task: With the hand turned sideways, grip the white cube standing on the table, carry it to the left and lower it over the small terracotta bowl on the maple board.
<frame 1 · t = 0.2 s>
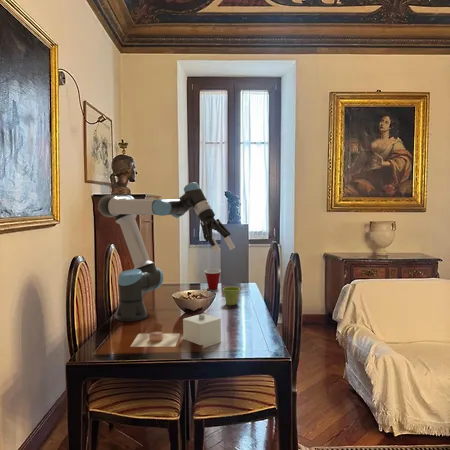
hand: (225, 250, 206), 35 cm above the table, tool tilted 35°, fingers open, 13 cm apart
maple board: (156, 343, 183), on the table
bread roll: (193, 309, 235), on the table
plastic cup: (212, 289, 284), on the table
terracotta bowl: (156, 339, 183), resting on maple board
plant pot: (231, 304, 245), on the table
white cube: (202, 342, 183), on the table
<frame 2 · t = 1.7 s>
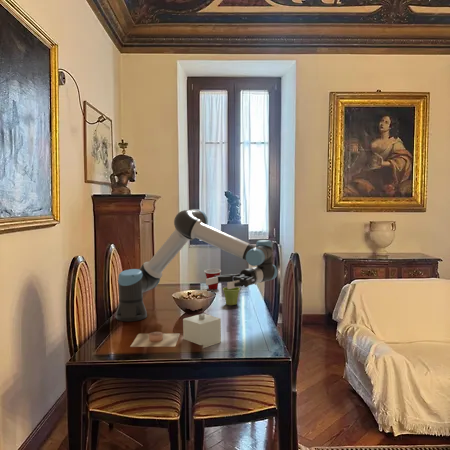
hand: (216, 284, 188), 23 cm above the table, tool horizontal, fingers open, 13 cm apart
nothing on the table moved.
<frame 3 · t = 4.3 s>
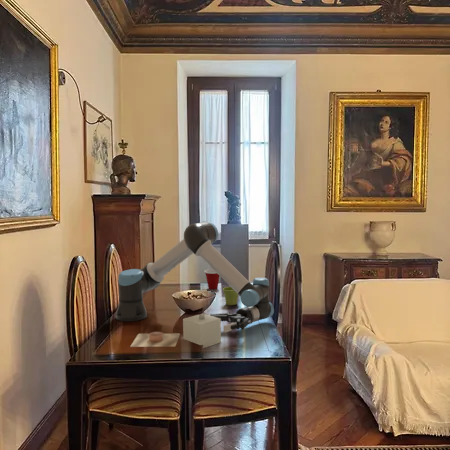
hand: (213, 325, 187), 6 cm above the table, tool horizontal, fingers open, 13 cm apart
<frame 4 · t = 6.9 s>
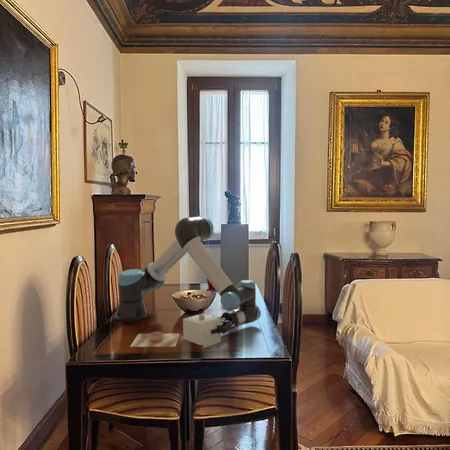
hand: (194, 330, 180), 6 cm above the table, tool horizontal, fingers closed on white cube, 11 cm apart
white cube: (202, 342, 183), on the table, touching gripper
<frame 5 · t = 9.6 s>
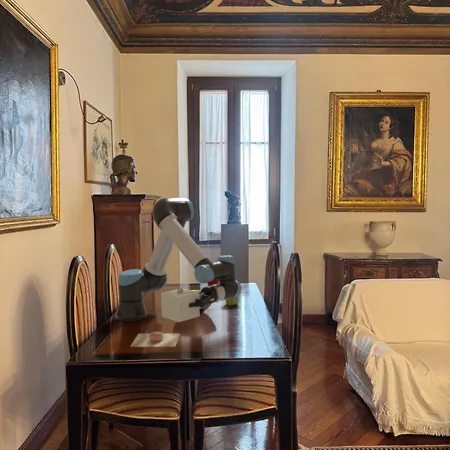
hand: (172, 304, 178), 17 cm above the table, tool horizontal, fingers closed on white cube, 11 cm apart
white cube: (180, 316, 181), point 11 cm above the table, touching gripper
when the fingers open (8 cm above the table, at t = 12.8 s): white cube stays where it is, resting on maple board.
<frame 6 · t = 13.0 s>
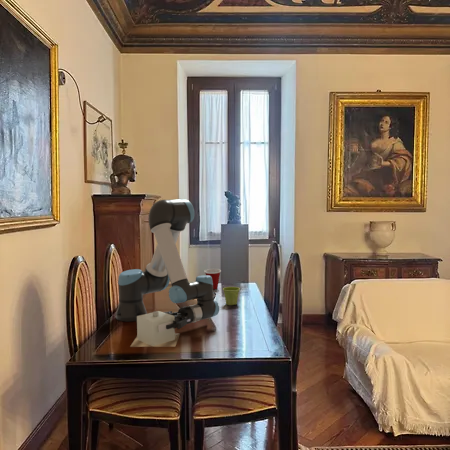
hand: (148, 325, 180), 8 cm above the table, tool horizontal, fingers open, 13 cm apart
white cube: (156, 339, 183), point 1 cm above the table, touching maple board
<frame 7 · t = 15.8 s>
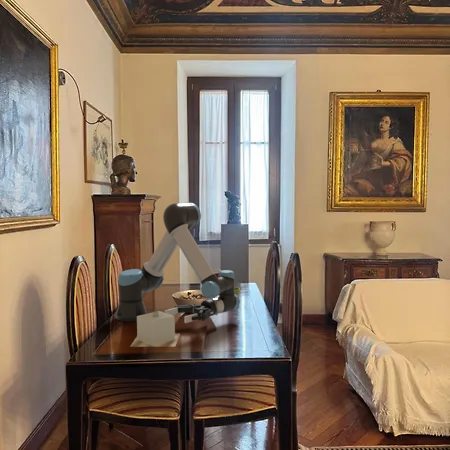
hand: (174, 316, 189), 9 cm above the table, tool horizontal, fingers open, 13 cm apart
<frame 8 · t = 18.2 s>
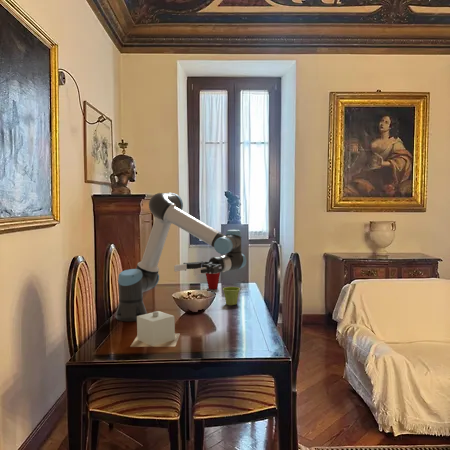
hand: (184, 270, 194), 28 cm above the table, tool horizontal, fingers open, 13 cm apart
at the end: white cube 0.1 cm from the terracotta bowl (horizontally); white cube point 1.5 cm above the table; white cube tilted 0° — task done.
